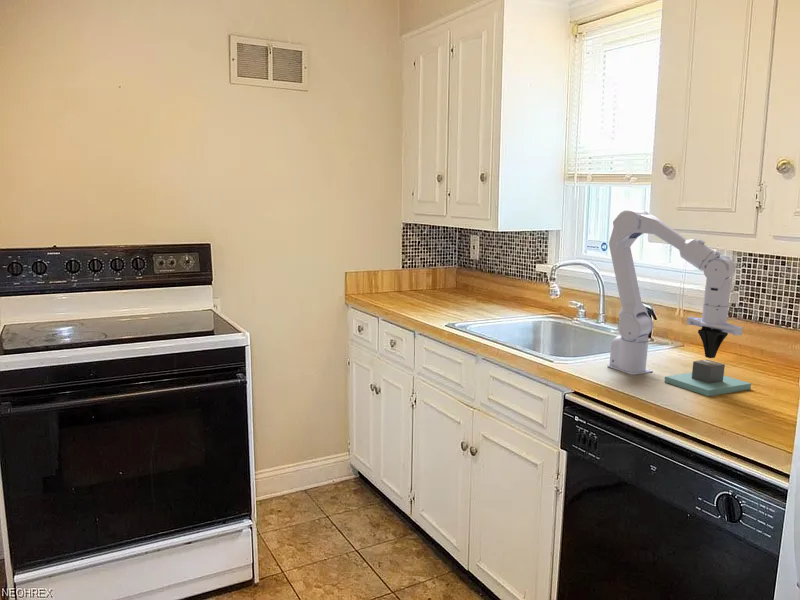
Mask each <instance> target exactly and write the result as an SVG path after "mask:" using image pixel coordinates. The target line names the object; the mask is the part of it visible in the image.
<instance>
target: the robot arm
mask: <svg viewBox="0 0 800 600" xmlns="http://www.w3.org/2000/svg"><path fill="white" fill-rule="evenodd" d="M612 225H613V227H612V232H611V235H610V238H609V241H608V247H609V251H610V255H611V256H610V257H611V262H612V266H613V271H614V276H615V280H616V286H617V290H618V295H619V301H620V305H621V307H620V310H619V312H618V318H619V322H618V326H617V330H618V333H619V335H617V336H616V337H614V339H613V340H612V341H611V343H610V344H611V345H610V351H609V352H610V355H609V363H608V364H607V365H606V366H607V367H608V368H611V369H613V370H617V371H620V372H623V373H625V374H628V375H631V376H636V375H641V374H642V375H643V374H648V373H650V374H651V373H653V370H652V369H650V368H647V359H648V348H649V334H650V333H651V332H652V331H653V329H654V322H653V319H652V318H651V317H650V315H649V314H648V308H647V307H646V306H645V304H643V302H642V298H641V292H640V288H639V283H638V282H639V281H638V278H637V273H636V269H635V263H634V258H633V254H632V250H631V249H632V248H631V247H632V245H633V243H635V242H636V240H637V239H638V238H639V237H640V236H642V235H643V234H649V235H654V236H656V237H657V238H659V239H661V240H662V241H664V242H666V243H667V244H669V245H671V246H673V247H674V248H675V249H677V250H678V251H679V256H680V258H681V259H683V260H685V261H686V262H688V263H689V264H690V265H692V266H694V267H695V268H697V269H698V270H699V271H701V272H703V274H704V276H705V278H706V280H705V286H704V287H705V288H704V294H703V295H704V297H703V305H702V315H701V317H694V316H687V317H686V325H688V326H695V327H698V328H699V327H700V329H698V330H697V333H698V335H699V337H700V339H701V343H702V345H703V350H704V357H705V358H707V359H715V358H716V356H717V353H718V351H719V348H720V346H721V345H722V343H723V341H724V340H725V339H726V337H727V336H728V335H729V334H730V335H731V334H732V335H733V336H742V335H743V329H744V327H743V326H739V325H734V324H731V323H729V322H728V313H729V305H730V298H731V297H730V296H731V290H732V289H731V285H732V283H731V282H732V276H734V274H735V272H736V264H735V262H734V261H733V260H732V258H730V257H729V256H725V255H722V256H721V254H722V253H721V251H719V250H718V251H715V250H714V249H712V248H710V247H708V246H707V245H705V244H706V241H705V240H703V239H699V240H698V239H697V238H693V239H688V238H686V237H684V236H683V235H682V234H680V233H679V232H678V231H676V230H675V229H674V228H672V227H671V226H669V225H668V224H667V223H665V222H664V221H662V220H661V219H659V218H658V217H657V216H655V215H654V214H650V213H649V212H647V211H646V210H643V209H639V210H638V209H637V210H630V209H628V210H627V209H626V210H623V211H621V212H620V213H619V214H618V215H617V216H616V217H615V219H614V220H613V221H612Z"/></svg>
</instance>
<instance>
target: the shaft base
mask: <svg viewBox="0 0 800 600" xmlns="http://www.w3.org/2000/svg"><path fill="white" fill-rule="evenodd" d="M664 383H667V384H670V385H672V386H676V387H678V388H680V389H681V388H682V389H685V390H688V391H691V392H694V393H696V394H699V395H702V396H706V397H712V396H713V397H714V396H718V395H724V394H725V395H726V394H730V393H735V392H741V391H747V390H751V389H752V388H751V387H752V383H751V382H747V381H744V380H741V379H737V378H734V377H730V376H727V375H724V376H723V382H717V383H711V384H708V383H705V382H702V381H699V380H696V379H692V371H691V372H686V373H678V374H672V375H665V376H664Z"/></svg>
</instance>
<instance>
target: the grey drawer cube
mask: <svg viewBox="0 0 800 600" xmlns="http://www.w3.org/2000/svg"><path fill="white" fill-rule="evenodd" d="M725 367H726V364H725V363H721V362H717V361H715V360H712V359H711V360H710V359H701V360H694V361H692V370H691V372H692V379H696V380H699V381H702V382H705V383H708V384H711V383H717V382H723V376H725Z"/></svg>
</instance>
